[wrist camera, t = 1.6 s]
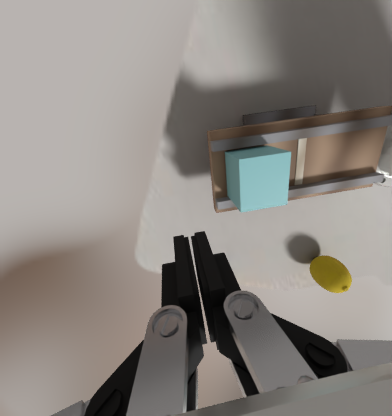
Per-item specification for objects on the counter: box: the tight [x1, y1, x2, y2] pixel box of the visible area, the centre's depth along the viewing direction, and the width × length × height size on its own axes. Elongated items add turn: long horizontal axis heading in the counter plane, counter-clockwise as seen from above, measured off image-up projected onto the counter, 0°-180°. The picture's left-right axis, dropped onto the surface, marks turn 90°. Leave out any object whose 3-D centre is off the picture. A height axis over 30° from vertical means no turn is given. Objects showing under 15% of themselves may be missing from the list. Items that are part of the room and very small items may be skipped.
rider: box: [225, 145, 291, 212], centre depth 22 cm, size 5×5×5 cm
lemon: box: [310, 256, 352, 293], centre depth 37 cm, size 6×6×8 cm
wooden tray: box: [207, 106, 392, 213], centre depth 27 cm, size 22×12×7 cm, turn 97°
